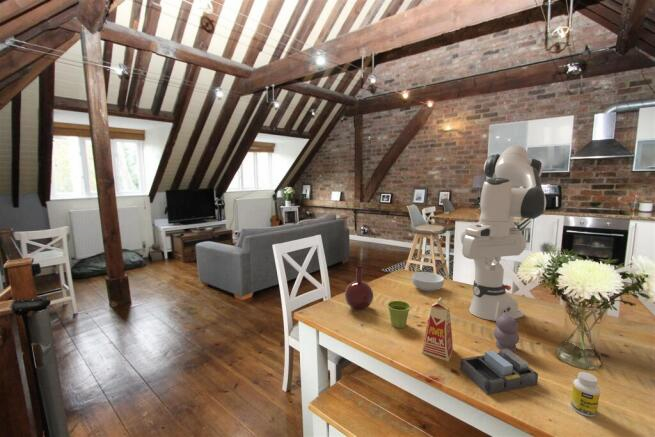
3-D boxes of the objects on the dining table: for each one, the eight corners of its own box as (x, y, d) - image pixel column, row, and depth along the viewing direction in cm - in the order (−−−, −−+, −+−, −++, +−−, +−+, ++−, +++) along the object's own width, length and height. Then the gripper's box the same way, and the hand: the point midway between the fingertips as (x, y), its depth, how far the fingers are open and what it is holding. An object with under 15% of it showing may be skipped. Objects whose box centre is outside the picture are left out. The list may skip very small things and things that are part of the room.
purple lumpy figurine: (488, 341, 116) (490, 311, 114) (508, 340, 116) (510, 310, 115) (502, 354, 107) (504, 322, 106) (523, 353, 108) (526, 321, 106)
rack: (460, 368, 100) (461, 351, 99) (505, 361, 104) (507, 344, 103) (486, 394, 88) (488, 375, 87) (537, 384, 92) (538, 366, 91)
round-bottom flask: (341, 304, 150) (341, 265, 147) (366, 301, 153) (366, 262, 150) (350, 316, 137) (350, 273, 134) (377, 312, 141) (378, 270, 138)
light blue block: (491, 364, 100) (492, 350, 99) (511, 380, 92) (512, 365, 92) (483, 366, 99) (484, 351, 99) (503, 382, 92) (504, 366, 91)
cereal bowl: (439, 297, 157) (439, 284, 156) (407, 291, 166) (407, 278, 165) (446, 287, 171) (447, 274, 170) (416, 281, 180) (417, 270, 179)
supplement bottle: (577, 416, 80) (581, 381, 79) (566, 401, 85) (570, 368, 84) (601, 419, 79) (606, 384, 78) (588, 403, 84) (592, 371, 83)
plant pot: (410, 331, 124) (411, 310, 123) (386, 329, 126) (387, 309, 125) (409, 320, 133) (409, 301, 132) (387, 318, 135) (387, 299, 134)
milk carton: (448, 361, 104) (451, 305, 101) (421, 353, 109) (422, 299, 106) (453, 348, 112) (456, 295, 109) (427, 341, 116) (429, 290, 114)
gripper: (513, 225, 105) (509, 264, 107) (460, 228, 101) (458, 269, 103) (528, 228, 99) (525, 270, 101) (473, 232, 95) (470, 275, 97)
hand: (491, 269), depth 102 cm, fingers closed
